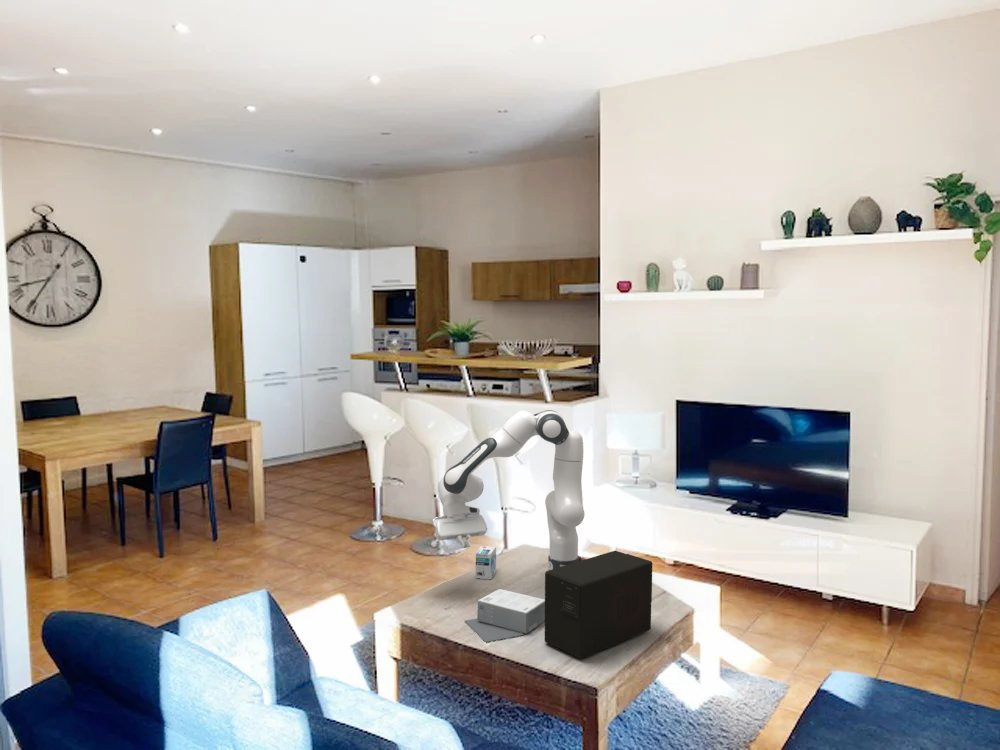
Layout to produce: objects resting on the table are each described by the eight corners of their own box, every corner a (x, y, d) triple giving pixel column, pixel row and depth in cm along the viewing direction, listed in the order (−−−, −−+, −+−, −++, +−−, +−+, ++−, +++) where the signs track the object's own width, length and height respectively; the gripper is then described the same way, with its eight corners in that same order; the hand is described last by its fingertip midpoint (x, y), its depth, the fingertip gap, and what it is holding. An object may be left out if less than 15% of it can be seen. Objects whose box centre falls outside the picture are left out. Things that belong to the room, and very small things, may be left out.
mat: (500, 615, 278) (500, 614, 278) (523, 635, 261) (523, 634, 261) (464, 621, 272) (464, 620, 272) (485, 642, 255) (485, 641, 255)
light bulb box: (491, 580, 314) (491, 554, 314) (475, 579, 316) (475, 553, 315) (496, 571, 325) (496, 546, 324) (481, 570, 326) (481, 545, 325)
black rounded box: (612, 613, 280) (613, 546, 278) (655, 630, 266) (656, 560, 263) (537, 642, 256) (537, 569, 254) (579, 662, 241) (580, 585, 239)
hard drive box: (476, 621, 271) (525, 634, 261) (476, 600, 271) (526, 612, 260) (499, 607, 285) (547, 620, 274) (499, 587, 284) (547, 599, 274)
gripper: (433, 513, 290) (442, 546, 282) (482, 508, 298) (493, 539, 291) (429, 521, 294) (438, 554, 286) (477, 516, 303) (487, 547, 295)
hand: (466, 547), depth 288 cm, fingers closed
